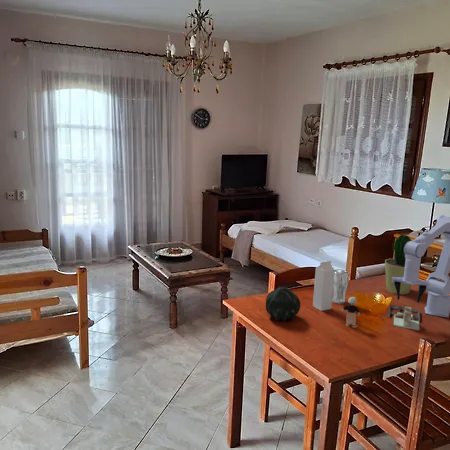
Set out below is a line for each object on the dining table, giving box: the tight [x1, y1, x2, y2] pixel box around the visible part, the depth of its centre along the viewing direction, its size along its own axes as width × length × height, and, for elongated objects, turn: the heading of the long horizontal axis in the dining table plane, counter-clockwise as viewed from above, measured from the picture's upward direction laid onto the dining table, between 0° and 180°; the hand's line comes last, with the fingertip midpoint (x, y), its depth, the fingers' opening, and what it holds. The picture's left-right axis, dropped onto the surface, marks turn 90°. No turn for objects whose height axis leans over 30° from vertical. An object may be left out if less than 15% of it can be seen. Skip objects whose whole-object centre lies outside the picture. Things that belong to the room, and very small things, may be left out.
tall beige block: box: [403, 306, 412, 327], centre depth 185 cm, size 2×7×6 cm, turn 158°
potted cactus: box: [384, 234, 412, 295], centre depth 223 cm, size 15×15×30 cm
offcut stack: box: [393, 311, 415, 321], centre depth 192 cm, size 8×3×2 cm, turn 69°
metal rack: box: [387, 304, 421, 323], centre depth 196 cm, size 13×12×1 cm
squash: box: [265, 286, 302, 322], centre depth 188 cm, size 14×15×15 cm
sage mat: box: [393, 316, 420, 331], centre depth 186 cm, size 10×8×1 cm
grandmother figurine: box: [341, 296, 361, 329], centre depth 182 cm, size 8×4×13 cm, turn 71°
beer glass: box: [332, 268, 349, 305], centre depth 207 cm, size 7×7×15 cm
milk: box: [312, 260, 336, 312], centre depth 199 cm, size 6×6×22 cm
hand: (408, 300), depth 186 cm, fingers open, 7 cm apart
